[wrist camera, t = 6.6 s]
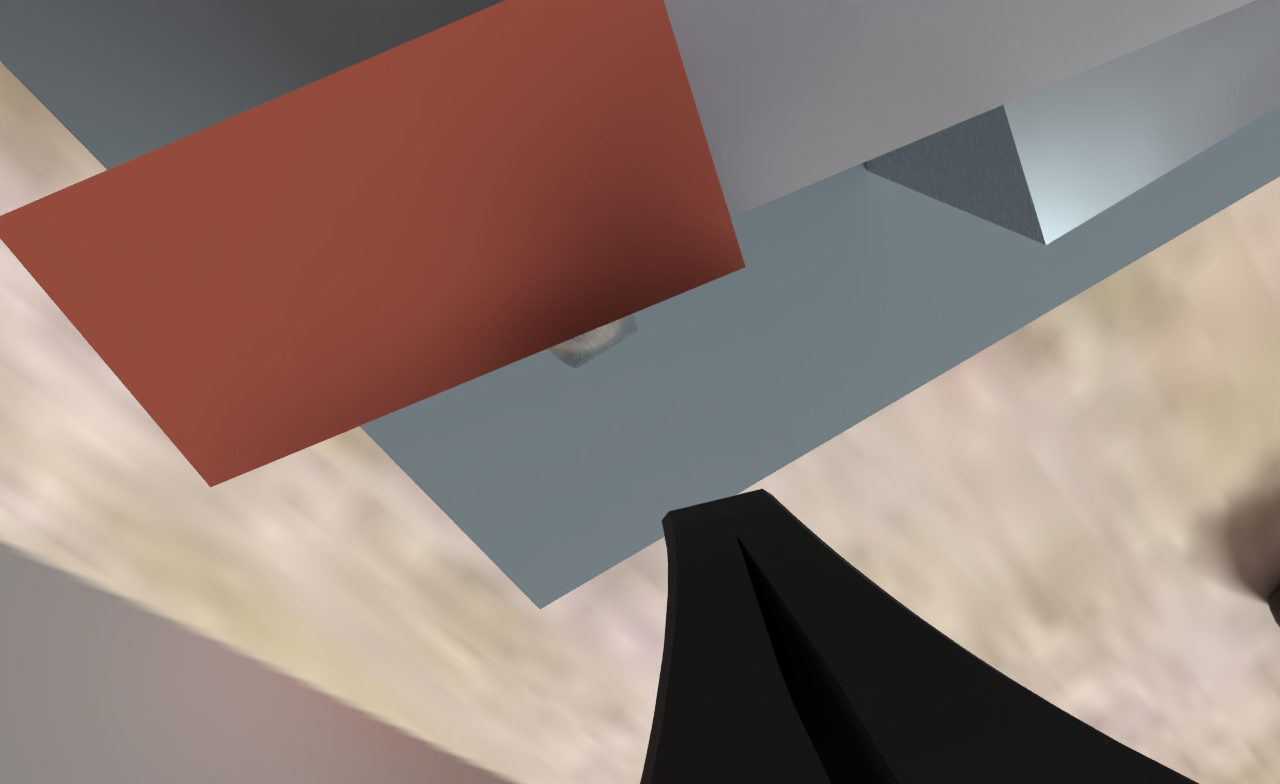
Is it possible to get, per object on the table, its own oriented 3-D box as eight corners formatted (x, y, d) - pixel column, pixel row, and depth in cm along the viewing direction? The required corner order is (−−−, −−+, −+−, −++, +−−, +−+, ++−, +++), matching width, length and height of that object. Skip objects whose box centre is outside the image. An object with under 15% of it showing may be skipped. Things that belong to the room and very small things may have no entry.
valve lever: (1481, -411, 6) (1812, -557, 4) (1429, -87, 7) (1677, -117, 5) (113, 174, 6) (-13, 222, 4) (272, 393, 7) (209, 487, 5)
